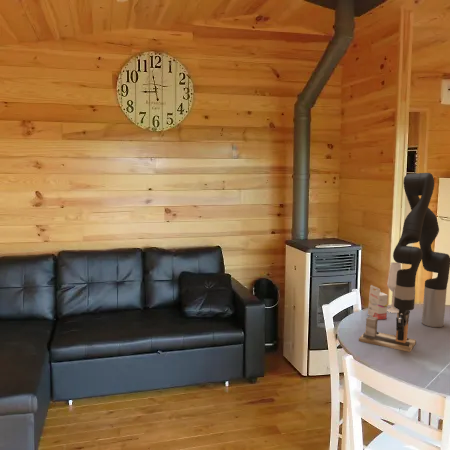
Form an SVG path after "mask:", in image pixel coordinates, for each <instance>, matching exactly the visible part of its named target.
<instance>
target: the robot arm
mask: <svg viewBox="0 0 450 450" xmlns="http://www.w3.org/2000/svg"><path fill="white" fill-rule="evenodd" d="M434 188H435V179H434V176H433V174H432V173H430V172H417V173H416V172H414V173H407V174H405V176H404V177H403V189H404V193H405V195H406V198H407V201H408V203H409V207H410V210H411V211H410V212H409V213H408V214H407V215H406V217H405V219H404V221H403V226H402V230H401V235H400V238H399V240H398V242H397V244H396V245H395V248H394V249H393V253H392V257H393V258H392V259H393V260H394V261H395V263H400V264H401V265H402V264H403V265H411V266H410V268H401V270H398V271H397V278H396V287H395V296H394V308H396V309H397V310H398V311H399V313H396V318H395V321H396V328H395V329H396V330H397V331H398V336H397V339H398V340H401V341H403V339H404V331H405V330H404V329H405V326H406V324H407V323H408V324H409V321H410V313H411V311H413V310H414V308H415V303H416V302H415V300H416V281H417V280H416V278H417V274H418V270H419V267H420V264H421V263H422V267H423V269H424V270H425V271H427V272H429V273H430V272H431V273H435V274H437V276H436V277H435V278H429V279H425V281H424V289H423V303H422V315H421V324H423V325H425V326H427V327H431V328H432V327H433V328H442V327H444V326H445V325H444V323H445V316H446V315H445V313H446V301H447V289H448V288H447V287H448V282H449V278H450V277H449V275H450V255H449V254H448V253H444V252H439V251H434V250H433V249H432V244H433V243H434V241H435V239H436V238H437V237H438V235H439V233H440V227H439V221H438V217H437V216H436V214H435V212H433V211H432V210H431V209H430V208H429V207H430V203H431V200H432V196H433V193H434ZM417 243H418V244H419V247H418V246H412V245H411V246H409V245H410V244H417ZM399 326H400V327H402V328H399Z"/></svg>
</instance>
